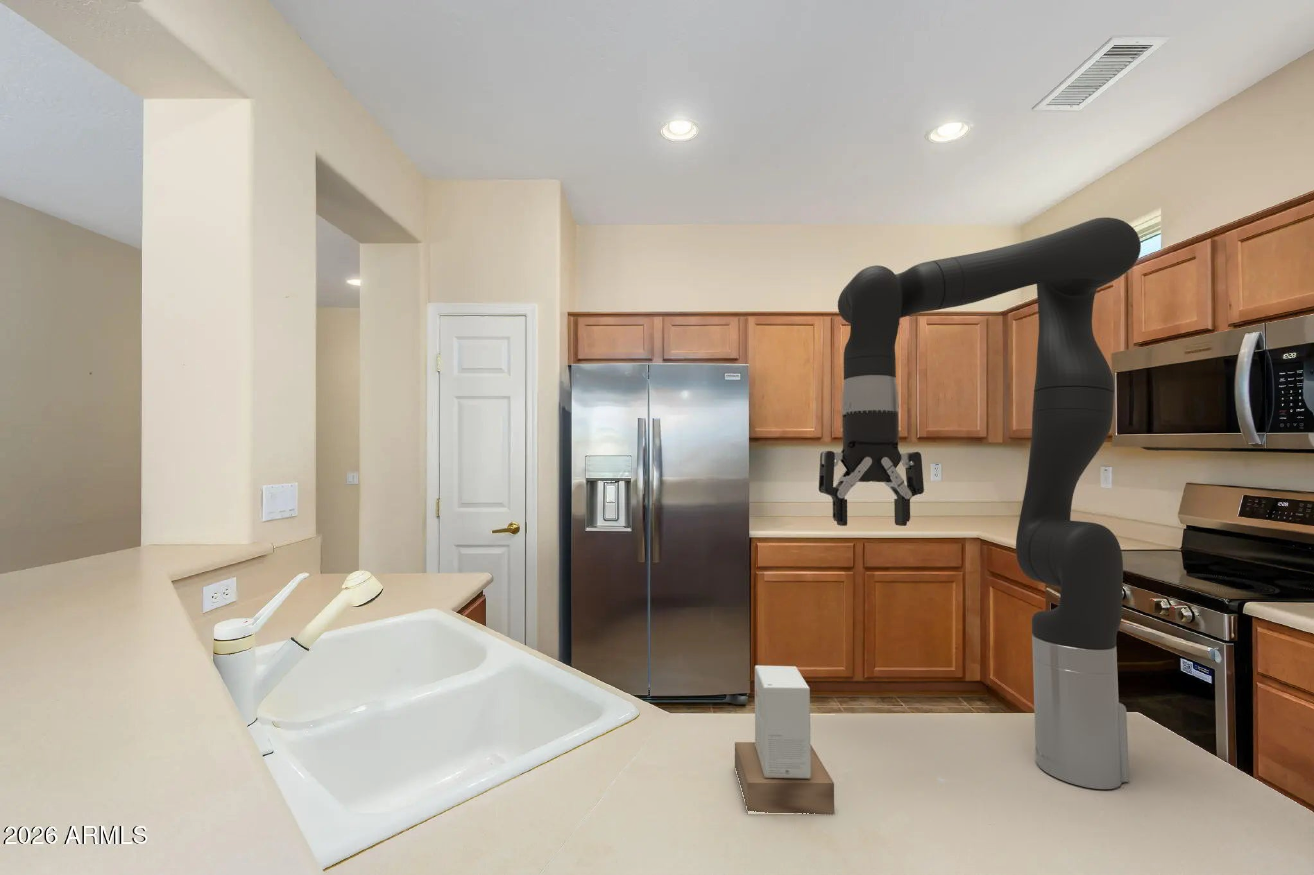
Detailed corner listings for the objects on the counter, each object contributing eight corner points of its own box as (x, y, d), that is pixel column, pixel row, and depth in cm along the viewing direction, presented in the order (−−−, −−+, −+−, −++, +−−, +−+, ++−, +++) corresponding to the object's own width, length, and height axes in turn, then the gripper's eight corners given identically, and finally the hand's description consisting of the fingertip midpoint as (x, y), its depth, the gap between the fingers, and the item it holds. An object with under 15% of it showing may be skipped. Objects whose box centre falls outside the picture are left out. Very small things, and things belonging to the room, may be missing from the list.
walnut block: (809, 773, 76) (809, 742, 76) (834, 819, 66) (834, 783, 66) (734, 773, 76) (734, 742, 76) (747, 818, 66) (747, 782, 66)
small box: (811, 781, 66) (811, 688, 67) (763, 779, 67) (763, 687, 67) (797, 747, 74) (797, 665, 75) (754, 746, 75) (754, 664, 75)
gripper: (904, 414, 85) (906, 523, 84) (811, 412, 85) (812, 523, 83) (932, 408, 78) (934, 528, 77) (830, 406, 77) (831, 527, 76)
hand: (871, 525), depth 80 cm, fingers open, 8 cm apart
